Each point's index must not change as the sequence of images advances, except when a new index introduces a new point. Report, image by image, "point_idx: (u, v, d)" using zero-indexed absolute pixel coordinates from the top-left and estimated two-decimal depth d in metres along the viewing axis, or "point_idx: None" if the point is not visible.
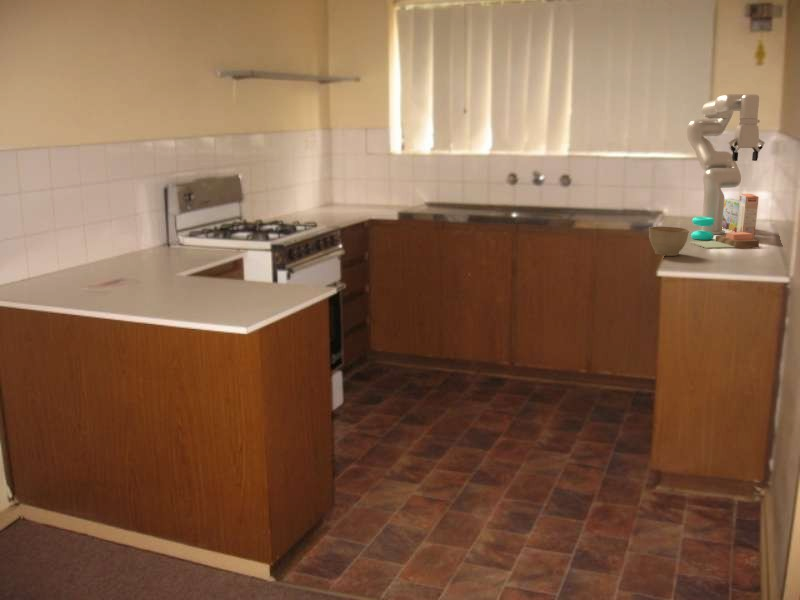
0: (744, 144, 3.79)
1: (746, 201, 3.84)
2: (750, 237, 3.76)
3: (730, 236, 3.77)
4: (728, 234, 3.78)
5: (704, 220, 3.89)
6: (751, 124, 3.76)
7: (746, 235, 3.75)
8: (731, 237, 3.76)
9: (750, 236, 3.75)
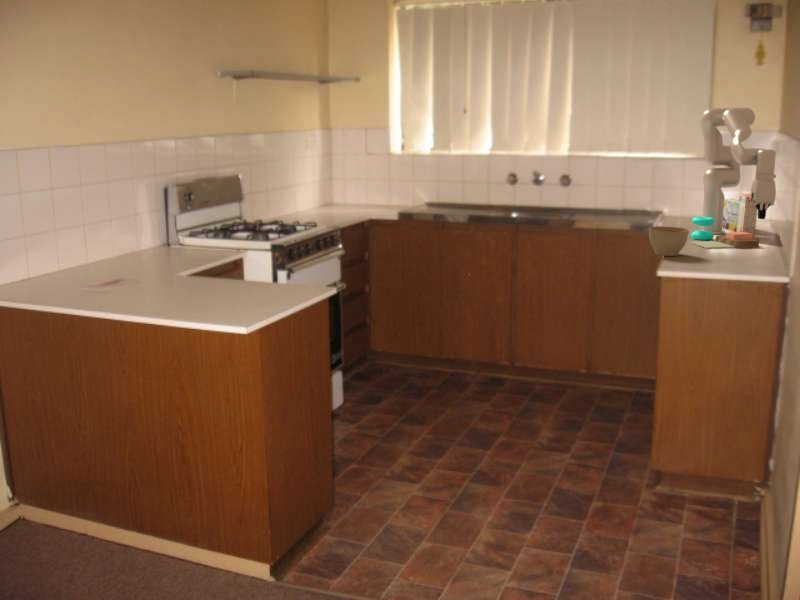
0: (761, 199, 3.73)
1: (746, 201, 3.84)
2: (750, 237, 3.76)
3: (730, 236, 3.77)
4: (728, 234, 3.78)
5: (704, 220, 3.89)
6: (768, 179, 3.70)
7: (746, 235, 3.75)
8: (731, 237, 3.76)
9: (750, 236, 3.75)
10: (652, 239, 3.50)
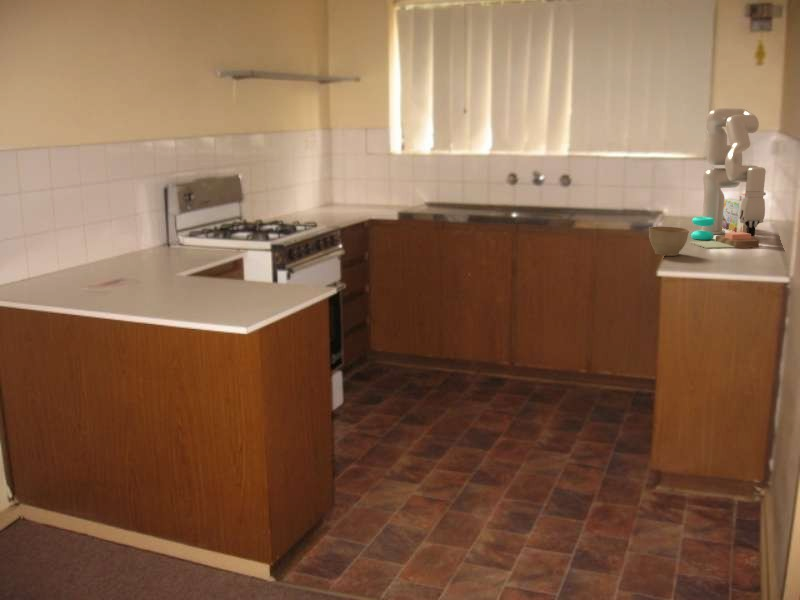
0: (750, 217, 3.74)
1: None
2: (749, 237, 3.75)
3: (729, 236, 3.77)
4: (727, 234, 3.78)
5: (704, 220, 3.89)
6: (757, 197, 3.71)
7: (745, 235, 3.75)
8: (730, 237, 3.76)
9: (749, 236, 3.75)
10: (652, 239, 3.50)
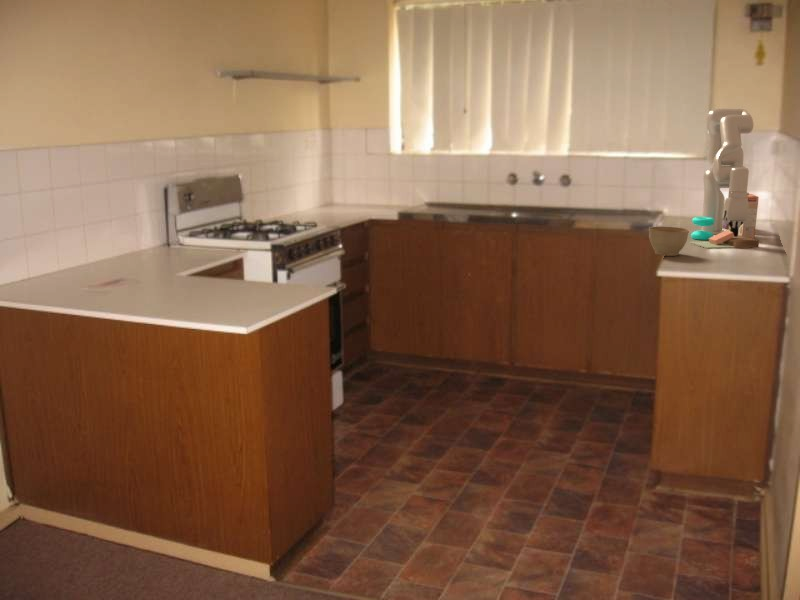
0: (733, 217, 3.73)
1: None
2: (732, 236, 3.74)
3: (712, 242, 3.76)
4: (710, 240, 3.78)
5: (704, 220, 3.89)
6: (740, 198, 3.70)
7: (727, 236, 3.74)
8: (714, 243, 3.76)
9: (732, 235, 3.74)
10: (652, 239, 3.50)
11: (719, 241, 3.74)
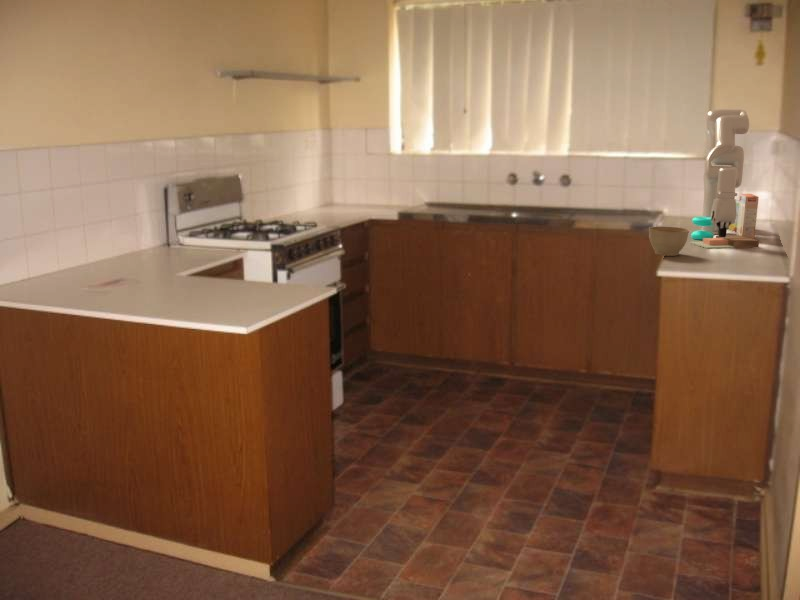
0: (721, 218, 3.72)
1: (746, 201, 3.84)
2: (726, 243, 3.75)
3: (706, 242, 3.76)
4: (704, 240, 3.78)
5: (704, 220, 3.89)
6: (728, 198, 3.69)
7: (722, 241, 3.74)
8: (707, 243, 3.75)
9: (726, 242, 3.75)
10: (652, 239, 3.50)
11: (713, 243, 3.74)
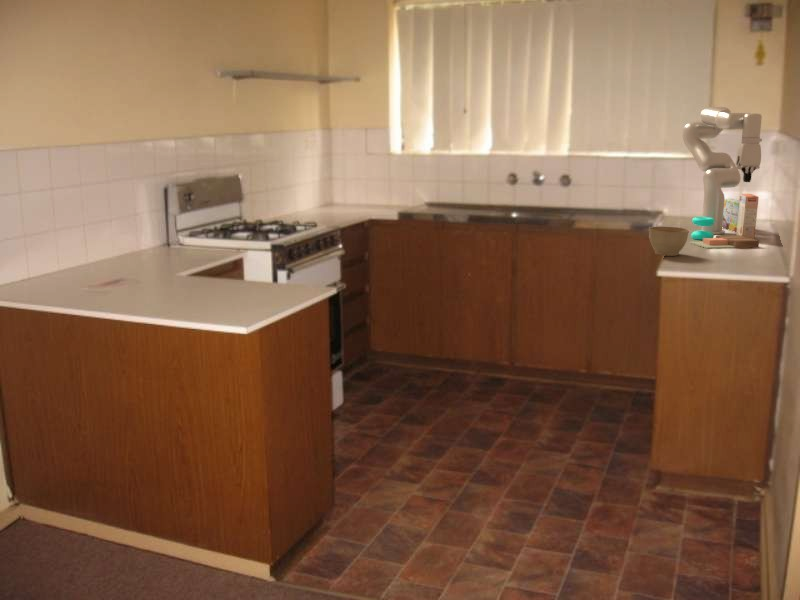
0: (746, 162, 3.81)
1: (746, 201, 3.84)
2: (726, 243, 3.75)
3: (706, 242, 3.76)
4: (704, 240, 3.78)
5: (704, 220, 3.89)
6: (753, 143, 3.78)
7: (722, 241, 3.74)
8: (707, 243, 3.75)
9: (726, 242, 3.75)
10: (652, 239, 3.50)
11: (713, 243, 3.74)
